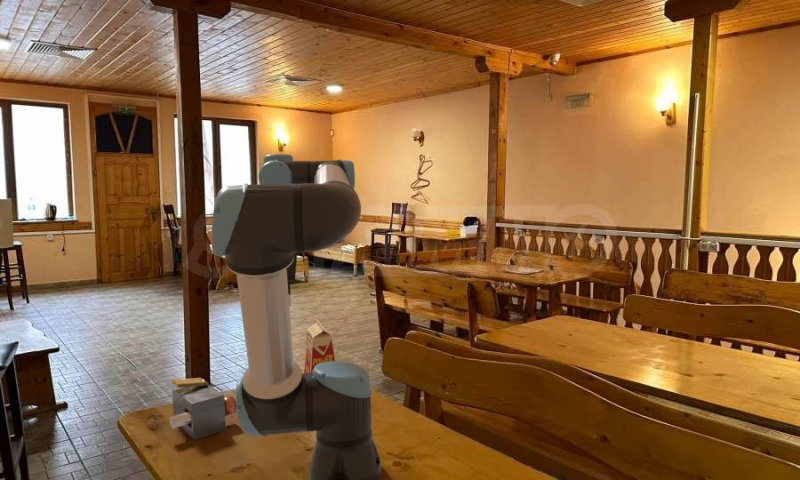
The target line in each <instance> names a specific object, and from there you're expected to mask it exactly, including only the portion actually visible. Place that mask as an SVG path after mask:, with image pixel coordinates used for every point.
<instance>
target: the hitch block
mask: <svg viewBox="0 0 800 480" xmlns="http://www.w3.org/2000/svg"><path fill="white" fill-rule="evenodd" d="M171 397H172V406H173V408H172V409H173V410H172V411H173V416H175V415H179V414H182V413H186V412H189V411H190V412H191V423H190V424H186V425H183V426H180V427H179V428H181V429H182V430H183V431H184V432H185V433H186V434H187V435H188V436H189V437H191V438H192V440H194V441H195V440H198V439H200V438H204V437H207V436H209V435H213V434H216V433H220V432H222V431H225V430H227V427H226V425H227V423H226V421H227V420H226V416H225V404H224V398H225V395H224V394H223V393H222V392H221V391H219V390H217V389H215V388H214V387H213V386H211V385H210V384H209V385H208V386H194V387H181V388H177V387H176V386H175V387H172V388H171Z"/></svg>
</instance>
